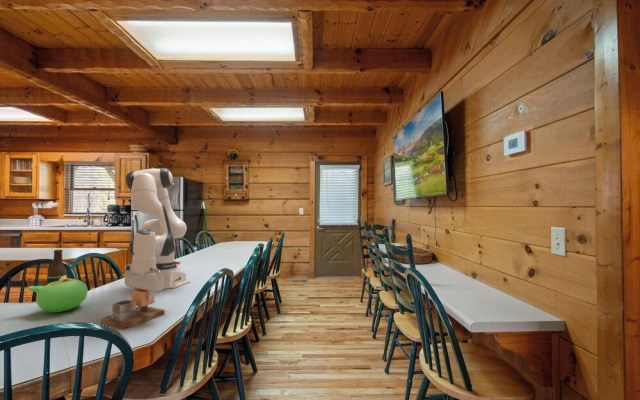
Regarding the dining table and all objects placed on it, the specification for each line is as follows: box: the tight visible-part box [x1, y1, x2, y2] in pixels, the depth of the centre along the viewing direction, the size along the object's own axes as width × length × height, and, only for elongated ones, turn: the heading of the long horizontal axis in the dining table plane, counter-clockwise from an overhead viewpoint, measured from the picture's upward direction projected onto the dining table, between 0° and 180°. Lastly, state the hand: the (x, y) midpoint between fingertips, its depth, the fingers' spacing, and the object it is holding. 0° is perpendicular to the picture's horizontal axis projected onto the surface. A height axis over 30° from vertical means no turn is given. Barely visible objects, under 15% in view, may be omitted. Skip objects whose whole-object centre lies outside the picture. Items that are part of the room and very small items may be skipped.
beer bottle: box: [47, 249, 68, 284], centre depth 158 cm, size 8×8×24 cm
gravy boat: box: [27, 275, 88, 313], centre depth 139 cm, size 18×17×15 cm
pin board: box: [100, 299, 165, 330], centre depth 130 cm, size 18×14×8 cm
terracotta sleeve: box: [131, 289, 156, 307], centre depth 134 cm, size 6×6×6 cm
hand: (143, 299), depth 134 cm, fingers closed on terracotta sleeve, 6 cm apart
